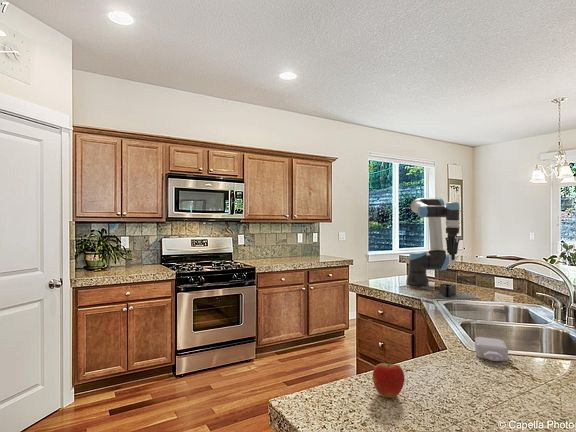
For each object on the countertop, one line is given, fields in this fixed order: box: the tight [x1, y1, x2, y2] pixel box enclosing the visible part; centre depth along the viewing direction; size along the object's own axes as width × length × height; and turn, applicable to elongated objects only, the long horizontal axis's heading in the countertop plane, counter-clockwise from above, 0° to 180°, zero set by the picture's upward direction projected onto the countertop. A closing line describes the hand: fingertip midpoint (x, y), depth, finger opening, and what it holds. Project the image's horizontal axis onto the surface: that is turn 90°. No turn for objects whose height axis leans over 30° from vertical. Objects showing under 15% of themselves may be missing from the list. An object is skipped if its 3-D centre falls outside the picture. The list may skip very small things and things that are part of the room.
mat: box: [433, 293, 480, 300], centre depth 223 cm, size 12×22×1 cm, turn 93°
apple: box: [372, 356, 405, 399], centre depth 98 cm, size 8×8×10 cm
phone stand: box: [439, 283, 457, 298], centre depth 225 cm, size 9×6×12 cm
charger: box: [474, 336, 509, 362], centre depth 125 cm, size 5×9×15 cm
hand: (452, 265), depth 228 cm, fingers closed
